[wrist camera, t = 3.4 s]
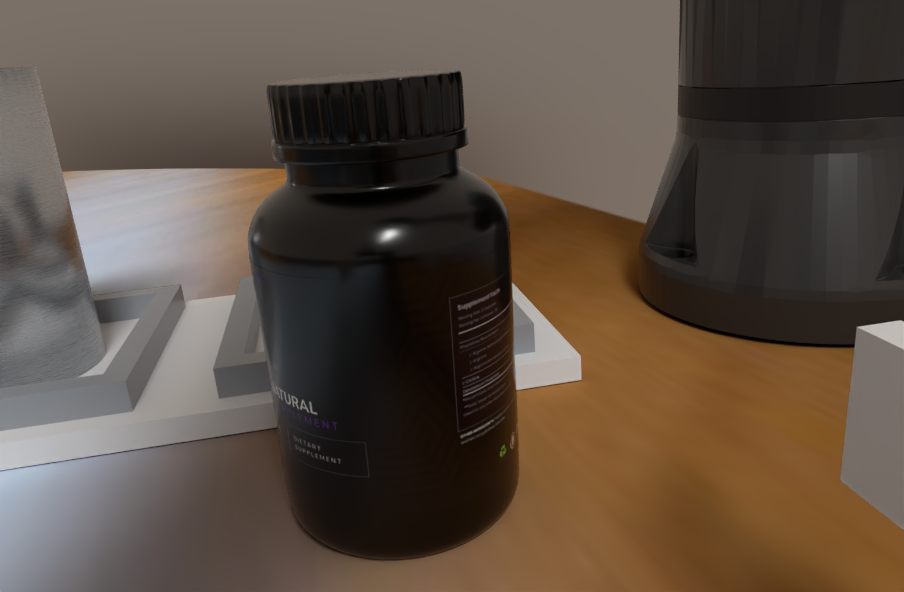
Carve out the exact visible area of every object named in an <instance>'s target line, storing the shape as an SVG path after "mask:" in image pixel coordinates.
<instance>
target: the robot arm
mask: <svg viewBox="0 0 904 592" xmlns="http://www.w3.org/2000/svg"><path fill="white" fill-rule="evenodd" d="M679 37H680V38H679V71H678V117H677V132H676V138H675V142H674V145H673V147H672V150H671V153H670V156H669V159H668V162H667V165H666V168H665V171H664V174H663V177H662V180H661V182H660V186H659V188H658V191H657V194H656V197H655V200H654V203H653V206H652V209H651V212H650V215H649V217H648V220H647V223H646V226H645V229H644V232H643V235H642V238H641V241H640V246H639V290H640V292H641V294H642V295H643V296H644V298H645V299H646V300H647V301H649V302H650V303H651V304H652V305H654V306H655V307H657V308H659V309H660V310H662V311H664V312H666V313H668V314H670V315H672V316H675V317H677V318H680V319H682V320H685V321H688V322H691V323H694V324H697V325H700V326H704V327H707V328H711V329H715V330H719V331H724V332H728V333H733V334H738V335H744V336H749V337H756V338H762V339H770V340H778V341H788V342H799V343H815V344H855V349H854V358H853V367H852V377H851V386H850V395H849V405H848V414H847V423H846V433H845V442H844V451H843V460H842V470H841V479H840V481H842V482H843V483H844V484H845V485H847V486H848V487H849V488H850V489H852V490H853V491H854V492H856V493H857V494H858V495H859V496H861V497H862V498H863V499H865V500H866V501H867V502H868V503H870V504H871V505H872V506H874V507H875V508H876V509H877V510H879V511H880V512H881V513H882V514H884V515H885V516H886V517H888V518H889V519H890V520H891V521H893V522H894V523H895V524H897V525H898V526H899V527H900V528H902V529H903V530H904V0H680V36H679Z"/></svg>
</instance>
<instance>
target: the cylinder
mask: <svg viewBox="0 0 904 592" xmlns="http://www.w3.org/2000/svg"><path fill="white" fill-rule="evenodd" d="M105 354H106V348H105V344H104V340H103V336H102V332H101V328H100V324H99V320H98V316H97V312H96V308H95V304H94V300H93V296H92V292H91V288H90V284H89V279H88V275H87V271H86V267H85V263H84V259H83V255H82V251H81V247H80V243H79V239H78V235H77V231H76V227H75V223H74V219H73V215H72V211H71V207H70V203H69V199H68V194H67V190H66V186H65V182H64V178H63V174H62V171H61V166H60V162H59V158H58V155H57V150H56V146H55V142H54V138H53V134H52V130H51V126H50V122H49V118H48V114H47V110H46V105H45V102H44V97H43V94H42V89H41V85H40V81H39V77H38V73H37V69H36V67H13V68H0V388H7V387H14V386H21V385H28V384H35V383H42V382H49V381H57V380H64V379H71V378H77V377H79V376H81V375H83V374H85V373H86V372H88V371H89V370H91V369H92V368H94V367H95V366H96V365H97V364H98V363H99V362H100V361H101V360H102V359H103V358H104V356H105Z"/></svg>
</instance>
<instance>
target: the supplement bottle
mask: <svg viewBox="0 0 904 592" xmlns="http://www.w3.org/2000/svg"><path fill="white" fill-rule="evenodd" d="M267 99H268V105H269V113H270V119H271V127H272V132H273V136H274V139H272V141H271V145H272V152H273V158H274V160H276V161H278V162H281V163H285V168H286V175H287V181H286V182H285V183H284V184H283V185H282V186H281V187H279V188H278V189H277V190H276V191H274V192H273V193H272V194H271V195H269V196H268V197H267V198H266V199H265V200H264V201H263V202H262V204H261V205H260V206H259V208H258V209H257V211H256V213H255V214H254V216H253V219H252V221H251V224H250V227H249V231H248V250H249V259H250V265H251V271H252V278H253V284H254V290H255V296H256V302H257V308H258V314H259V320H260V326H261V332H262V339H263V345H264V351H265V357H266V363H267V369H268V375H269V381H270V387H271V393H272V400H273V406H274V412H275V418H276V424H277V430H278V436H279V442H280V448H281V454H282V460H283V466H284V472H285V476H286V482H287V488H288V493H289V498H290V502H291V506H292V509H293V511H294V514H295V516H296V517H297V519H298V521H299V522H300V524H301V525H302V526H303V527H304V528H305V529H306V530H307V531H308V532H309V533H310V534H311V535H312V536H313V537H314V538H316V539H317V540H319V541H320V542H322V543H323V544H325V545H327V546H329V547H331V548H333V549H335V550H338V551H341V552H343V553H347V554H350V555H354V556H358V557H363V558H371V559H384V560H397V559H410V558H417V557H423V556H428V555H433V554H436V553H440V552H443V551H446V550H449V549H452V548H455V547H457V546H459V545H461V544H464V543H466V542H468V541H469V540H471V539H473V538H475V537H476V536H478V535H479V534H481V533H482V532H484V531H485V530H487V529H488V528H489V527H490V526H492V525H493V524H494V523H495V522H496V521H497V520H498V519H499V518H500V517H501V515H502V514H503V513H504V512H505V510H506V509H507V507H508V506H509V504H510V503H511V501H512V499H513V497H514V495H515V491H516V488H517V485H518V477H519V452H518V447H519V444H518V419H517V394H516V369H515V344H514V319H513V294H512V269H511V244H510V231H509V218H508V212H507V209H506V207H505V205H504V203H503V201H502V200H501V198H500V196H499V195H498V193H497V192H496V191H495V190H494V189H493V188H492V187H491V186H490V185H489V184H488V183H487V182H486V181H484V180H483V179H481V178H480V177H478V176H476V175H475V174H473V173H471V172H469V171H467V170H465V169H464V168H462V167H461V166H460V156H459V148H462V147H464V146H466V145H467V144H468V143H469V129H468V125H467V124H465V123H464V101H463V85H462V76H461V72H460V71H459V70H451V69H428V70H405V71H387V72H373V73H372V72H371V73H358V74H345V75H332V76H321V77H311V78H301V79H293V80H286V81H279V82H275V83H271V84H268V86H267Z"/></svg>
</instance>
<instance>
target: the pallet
mask: <svg viewBox="0 0 904 592" xmlns="http://www.w3.org/2000/svg"><path fill="white" fill-rule="evenodd" d="M512 294H513V319H514V344H515V369H516V390H520V389H526V388H533V387H539V386H546V385H552V384H559V383H565V382H571V381H578V380H581V356H580V355H579V354H578V353H577V351H576V350H575V349H574V348H573V347H572V346H571V345H570V344H569V343H568V342H567V341H566V340H565V339H564V338H563V336H562V335H561V334H560V333H559V332H558V331H557V330H556V329H555V328H554V327H553V326H552V325H551V324H550V323H549V321H548V320H547V319H546V318H545V317H544V316H543V315H542V314H541V313H540V312H539V311H538V310H537V309H536V307H535V306H534V305H533V304H532V303H531V302H530V301H529V300H528V299H527V298H526V297H525V296H524V295H523V294H522V292H521V291H520V290H519V289H518V288H517V287H516V286H515V285H514V284H513V283H512ZM92 296H93V300H94V304H95V308H96V312H97V316H98V320H99V324H100V328H101V332H102V336H103V340H104V344H105V348H106V354H105V356H104V358H103V359H102V360H101V361H100V362H99V363H98V364H97V365H96V366H95V367H94V368H92V369H91V370H89V371H88V372H86V373H85V374H83V375H81V376H79V377H77V378H71V379H64V380H57V381H49V382H42V383H35V384H28V385H21V386H14V387H7V388H0V470H6V469H13V468H19V467H26V466H32V465H39V464H45V463H51V462H58V461H64V460H71V459H77V458H84V457H90V456H96V455H103V454H109V453H116V452H122V451H128V450H135V449H141V448H148V447H154V446H161V445H167V444H173V443H180V442H186V441H193V440H199V439H205V438H212V437H218V436H225V435H231V434H238V433H244V432H250V431H257V430H263V429H270V428H276V427H277V424H276V418H275V412H274V406H273V400H272V393H271V387H270V381H269V375H268V369H267V363H266V357H265V351H264V345H263V339H262V332H261V326H260V320H259V314H258V308H257V302H256V296H255V290H254V284H253V278H252V276H245V277H241V280H240V283H239V286H238V289H237V293H236V295H229V296H221V297H214V298H206V299H198V300H190V301H184V297H183V292H182V287H181V284H180V285H172V286H164V287H156V288H148V289H140V290H132V291H124V292H116V293H108V294H100V295H92Z"/></svg>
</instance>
